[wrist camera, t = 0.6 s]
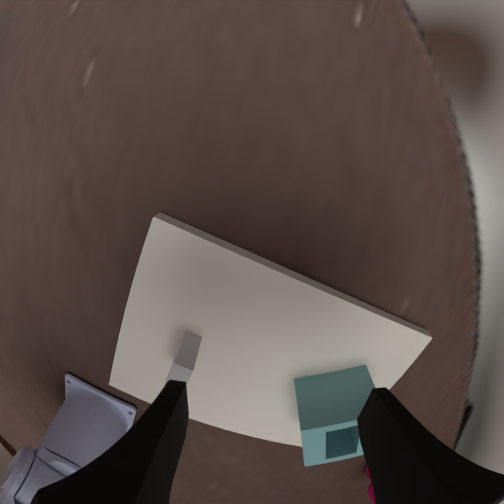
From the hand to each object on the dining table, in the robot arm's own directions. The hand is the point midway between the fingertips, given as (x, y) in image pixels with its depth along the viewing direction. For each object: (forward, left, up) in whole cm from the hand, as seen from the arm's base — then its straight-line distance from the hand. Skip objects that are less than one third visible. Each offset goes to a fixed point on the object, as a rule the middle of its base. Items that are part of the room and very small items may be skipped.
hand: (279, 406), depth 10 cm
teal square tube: (-6, -9, -8) cm, 14 cm away
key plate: (-6, -3, -10) cm, 12 cm away
